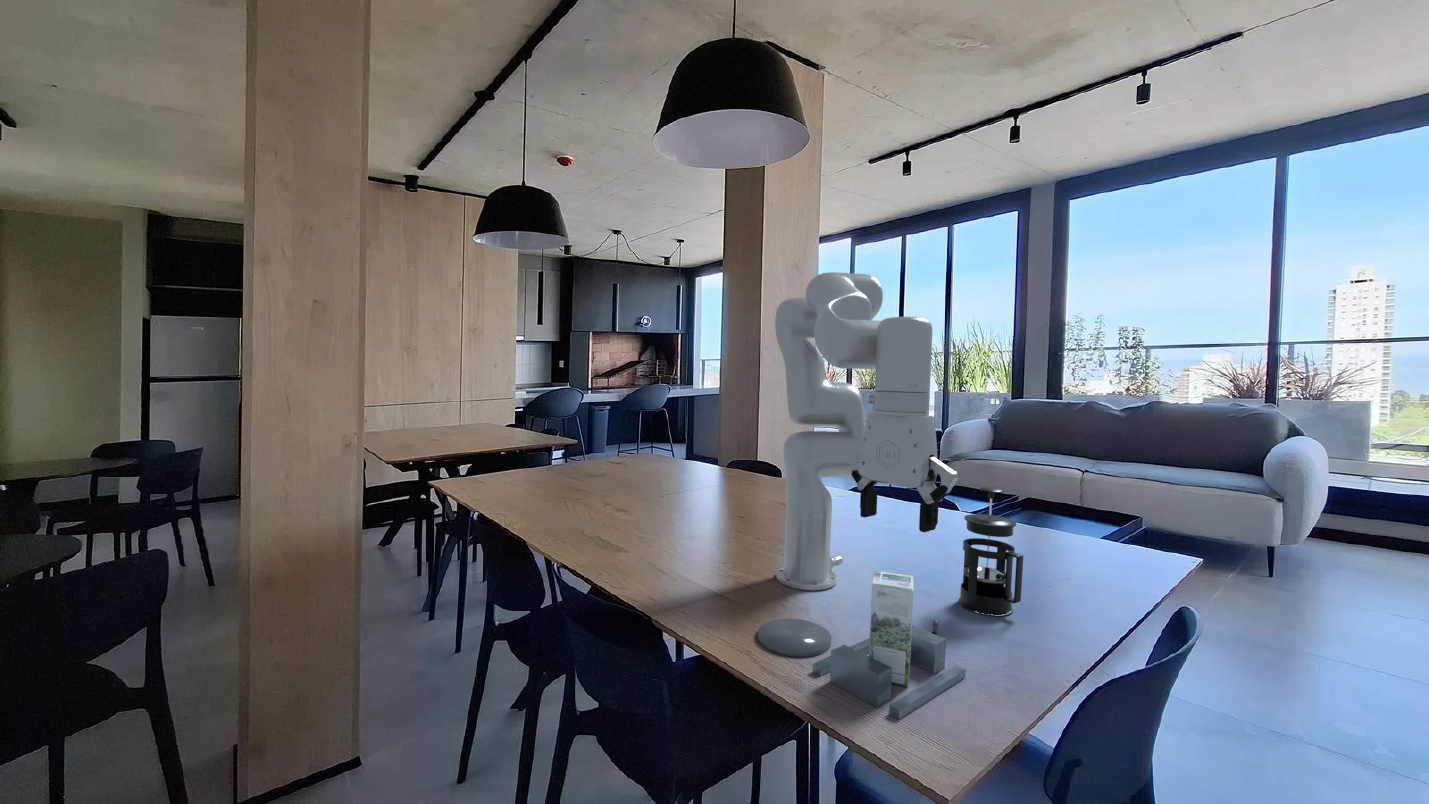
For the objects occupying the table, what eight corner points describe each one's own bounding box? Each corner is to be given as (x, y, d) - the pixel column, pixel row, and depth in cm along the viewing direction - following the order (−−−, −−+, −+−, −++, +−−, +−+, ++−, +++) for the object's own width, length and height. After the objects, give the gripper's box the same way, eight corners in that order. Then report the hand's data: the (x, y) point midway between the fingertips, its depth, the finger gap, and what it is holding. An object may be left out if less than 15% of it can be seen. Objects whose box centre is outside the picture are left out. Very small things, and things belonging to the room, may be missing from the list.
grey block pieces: (896, 632, 98) (897, 605, 98) (979, 668, 87) (981, 637, 87) (812, 671, 85) (813, 640, 85) (899, 719, 74) (900, 684, 73)
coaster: (792, 617, 104) (792, 612, 104) (846, 642, 94) (846, 637, 94) (742, 635, 96) (743, 630, 96) (796, 665, 87) (796, 659, 87)
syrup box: (909, 668, 87) (913, 574, 86) (909, 689, 81) (913, 587, 80) (870, 661, 88) (874, 568, 88) (867, 680, 83) (871, 581, 82)
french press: (945, 600, 113) (951, 484, 112) (975, 592, 118) (981, 481, 117) (1002, 624, 103) (1009, 497, 102) (1031, 613, 108) (1039, 492, 107)
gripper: (836, 401, 87) (832, 514, 87) (944, 408, 73) (938, 541, 74) (866, 401, 91) (862, 508, 92) (973, 407, 78) (967, 532, 79)
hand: (896, 522), depth 83 cm, fingers open, 9 cm apart
